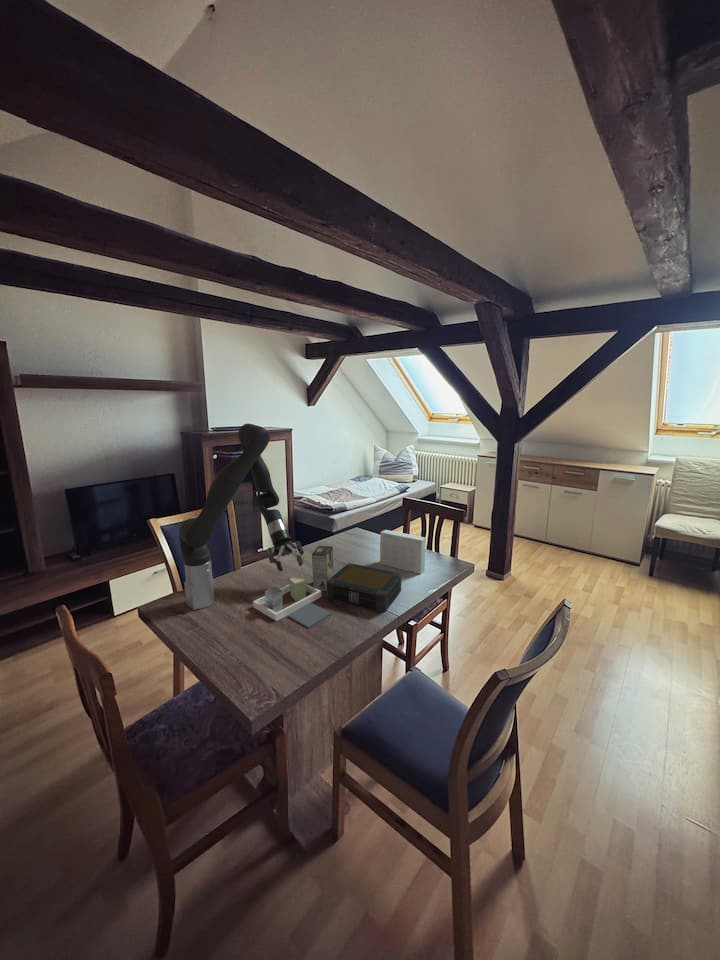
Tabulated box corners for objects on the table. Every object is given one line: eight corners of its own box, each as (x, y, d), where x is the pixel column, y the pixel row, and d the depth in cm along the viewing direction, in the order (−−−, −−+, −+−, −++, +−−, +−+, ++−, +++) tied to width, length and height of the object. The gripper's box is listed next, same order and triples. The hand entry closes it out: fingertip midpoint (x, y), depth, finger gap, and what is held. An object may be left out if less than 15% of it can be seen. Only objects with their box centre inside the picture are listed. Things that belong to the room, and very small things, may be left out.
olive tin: (295, 601, 147) (294, 583, 146) (290, 596, 151) (289, 578, 150) (306, 597, 150) (305, 579, 148) (301, 592, 154) (300, 575, 152)
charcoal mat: (308, 628, 130) (308, 626, 130) (288, 616, 137) (288, 615, 137) (331, 614, 138) (331, 613, 138) (310, 604, 145) (310, 602, 145)
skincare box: (425, 570, 173) (426, 537, 170) (420, 574, 169) (421, 541, 165) (384, 559, 184) (385, 528, 181) (379, 563, 180) (379, 532, 177)
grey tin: (273, 613, 139) (272, 595, 137) (265, 609, 142) (264, 591, 140) (283, 608, 142) (282, 590, 141) (275, 604, 145) (274, 586, 144)
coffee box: (319, 579, 165) (318, 544, 161) (333, 581, 163) (333, 546, 160) (312, 590, 156) (311, 553, 152) (327, 591, 155) (327, 554, 151)
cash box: (324, 600, 149) (324, 581, 147) (348, 578, 166) (348, 561, 165) (383, 615, 138) (383, 596, 136) (402, 590, 156) (403, 573, 154)
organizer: (276, 621, 134) (275, 614, 134) (253, 607, 143) (253, 601, 143) (321, 596, 151) (321, 590, 150) (298, 585, 159) (298, 580, 159)
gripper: (264, 532, 153) (277, 569, 146) (296, 525, 161) (310, 559, 154) (260, 540, 159) (272, 576, 152) (291, 533, 166) (304, 567, 160)
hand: (291, 568), depth 153 cm, fingers open, 8 cm apart
